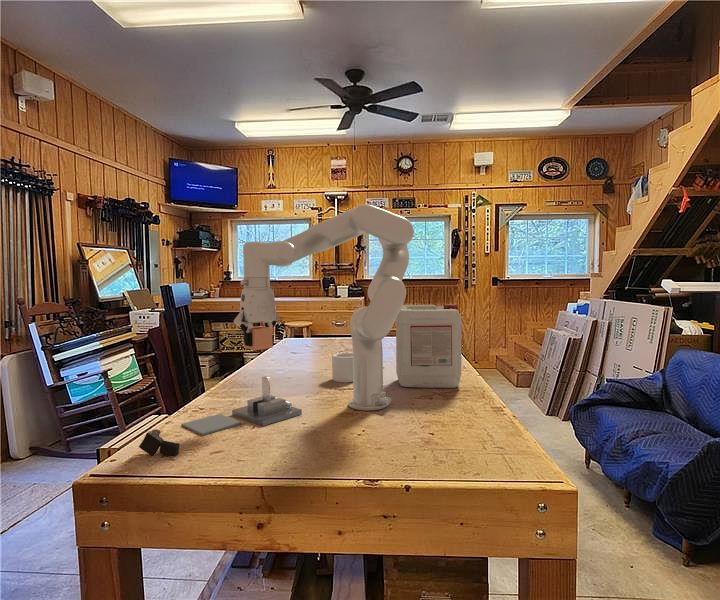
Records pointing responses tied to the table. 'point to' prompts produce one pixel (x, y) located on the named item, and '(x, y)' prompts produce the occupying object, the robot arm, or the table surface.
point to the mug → (342, 367)
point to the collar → (261, 338)
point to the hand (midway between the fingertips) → (258, 343)
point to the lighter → (158, 444)
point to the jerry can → (428, 346)
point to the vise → (266, 408)
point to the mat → (211, 424)
